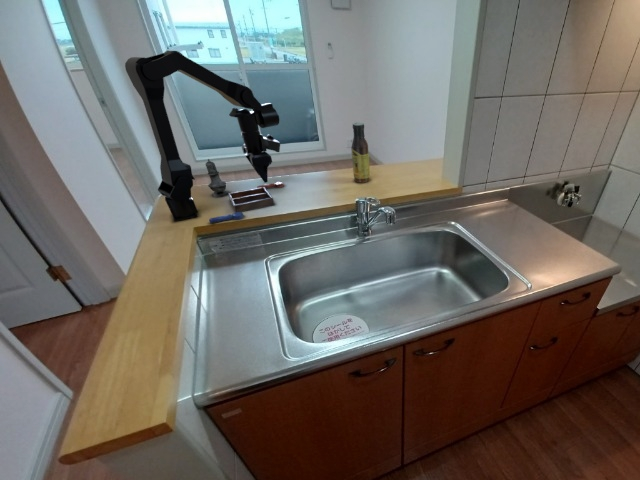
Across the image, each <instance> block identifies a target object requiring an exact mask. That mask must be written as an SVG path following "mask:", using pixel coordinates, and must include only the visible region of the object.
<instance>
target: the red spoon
mask: <svg viewBox="0 0 640 480" xmlns="http://www.w3.org/2000/svg"><path fill="white" fill-rule="evenodd" d="M284 186H285V185H284V182H283V181H277V182H274V183H273V182H272V183H267V184H261V185H257V186H256V188H262V187H265V189H266V190H267V189H268V190H269V189H273V188H277V189H278V188H283V187H284Z"/></svg>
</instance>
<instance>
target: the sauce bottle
mask: <svg viewBox="0 0 640 480" xmlns="http://www.w3.org/2000/svg"><path fill="white" fill-rule="evenodd" d="M352 129H353V139H352V143H351V148H350V149H351V162H352V172H353V173H352V174H353V179H354V181H355V182H357V183H358V184H359V183H363V184H364V183H368V182H369V181H370V179H371V171H370V170H371V169H370V153H369V144H368V143H369V142H368V141H367V140H366V138H365V122H364V123H363V122H354V123H352Z"/></svg>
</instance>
